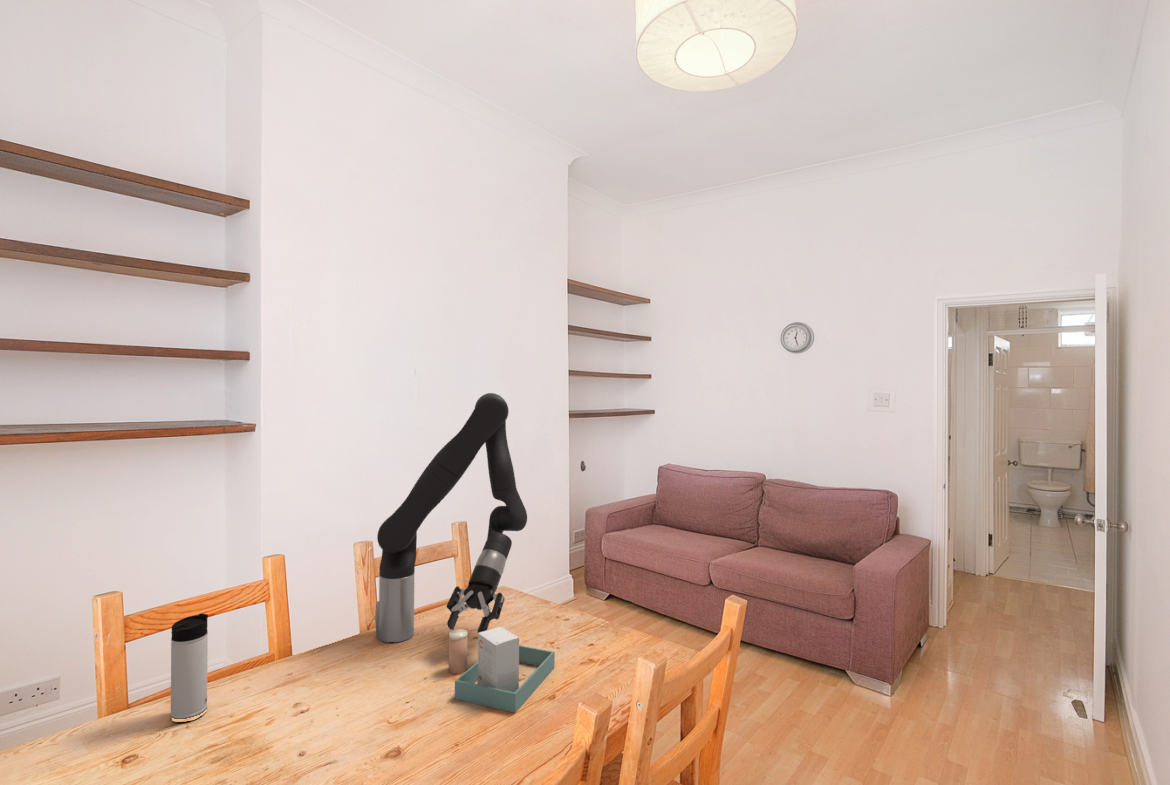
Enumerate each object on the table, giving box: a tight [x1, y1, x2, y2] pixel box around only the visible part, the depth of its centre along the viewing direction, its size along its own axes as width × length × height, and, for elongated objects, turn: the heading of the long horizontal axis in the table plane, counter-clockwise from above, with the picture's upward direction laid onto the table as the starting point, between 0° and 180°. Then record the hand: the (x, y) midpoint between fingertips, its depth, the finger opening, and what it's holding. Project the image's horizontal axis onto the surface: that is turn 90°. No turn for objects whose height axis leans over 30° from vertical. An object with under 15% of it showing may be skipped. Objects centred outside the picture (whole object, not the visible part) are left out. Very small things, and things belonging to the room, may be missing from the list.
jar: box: [448, 628, 469, 675], centre depth 141 cm, size 4×4×9 cm
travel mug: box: [170, 612, 209, 719], centre depth 120 cm, size 6×7×20 cm
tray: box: [454, 644, 556, 713], centre depth 135 cm, size 15×21×4 cm
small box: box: [476, 626, 520, 692], centre depth 131 cm, size 8×6×13 cm
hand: (465, 630), depth 143 cm, fingers open, 8 cm apart
